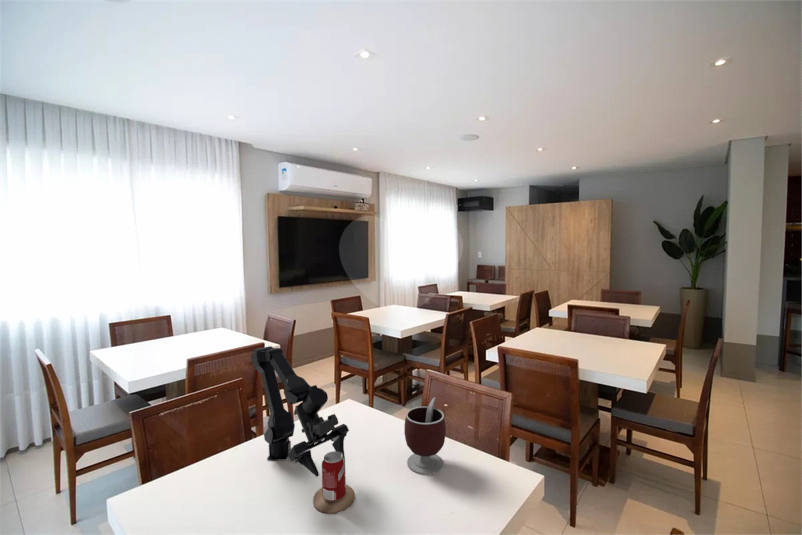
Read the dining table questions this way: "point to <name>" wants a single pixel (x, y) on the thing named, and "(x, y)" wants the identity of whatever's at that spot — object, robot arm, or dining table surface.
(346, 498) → the coaster
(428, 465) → the mate gourd
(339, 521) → the dining table surface
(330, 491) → the soda can
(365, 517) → the dining table surface
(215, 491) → the dining table surface
